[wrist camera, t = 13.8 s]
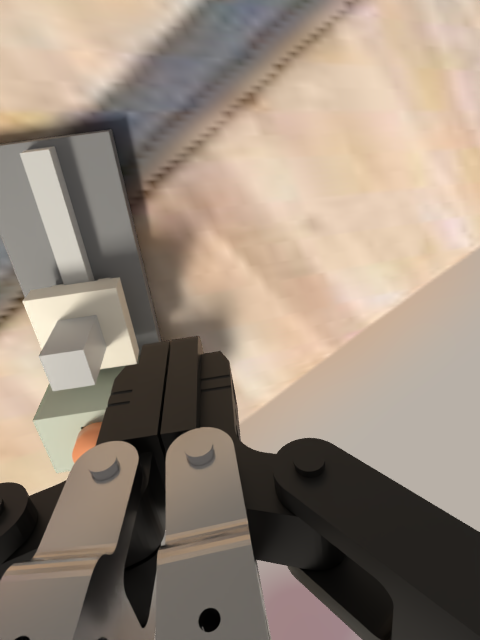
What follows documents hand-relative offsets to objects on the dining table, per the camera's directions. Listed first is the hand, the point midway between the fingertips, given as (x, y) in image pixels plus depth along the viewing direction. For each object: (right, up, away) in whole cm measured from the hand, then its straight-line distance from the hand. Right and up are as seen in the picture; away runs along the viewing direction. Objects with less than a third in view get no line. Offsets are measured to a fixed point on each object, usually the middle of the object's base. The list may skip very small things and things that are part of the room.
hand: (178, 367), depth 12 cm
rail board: (-12, +7, +26) cm, 29 cm away
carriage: (-11, +2, +26) cm, 28 cm away
